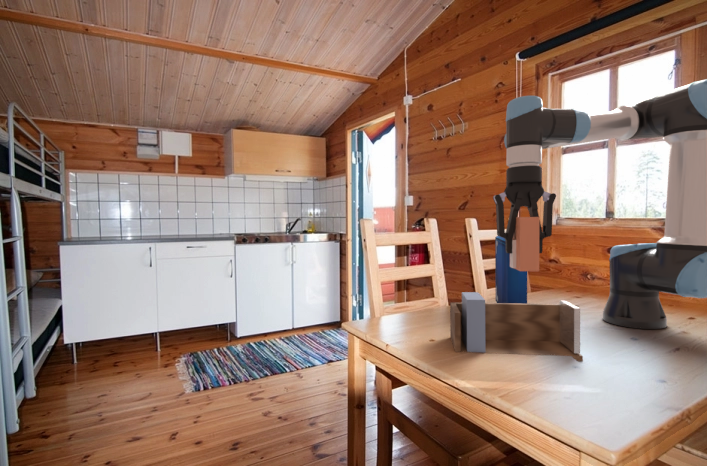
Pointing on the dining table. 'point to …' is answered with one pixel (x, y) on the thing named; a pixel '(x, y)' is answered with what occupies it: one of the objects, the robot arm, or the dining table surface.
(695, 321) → the dining table surface
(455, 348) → the shelf
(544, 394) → the dining table surface
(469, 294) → the book
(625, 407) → the dining table surface
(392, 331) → the dining table surface
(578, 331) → the bookend
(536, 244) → the book
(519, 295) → the book
